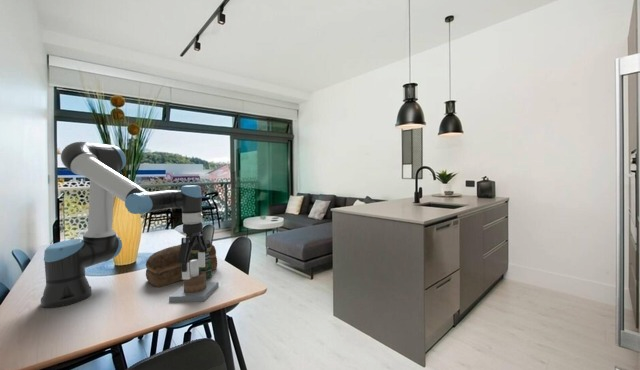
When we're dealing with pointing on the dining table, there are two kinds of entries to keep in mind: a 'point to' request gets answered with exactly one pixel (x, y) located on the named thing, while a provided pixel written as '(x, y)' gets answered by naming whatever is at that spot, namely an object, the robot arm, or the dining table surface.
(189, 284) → the ring
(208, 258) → the coffee jar
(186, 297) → the post block
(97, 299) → the dining table surface
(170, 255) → the bread
